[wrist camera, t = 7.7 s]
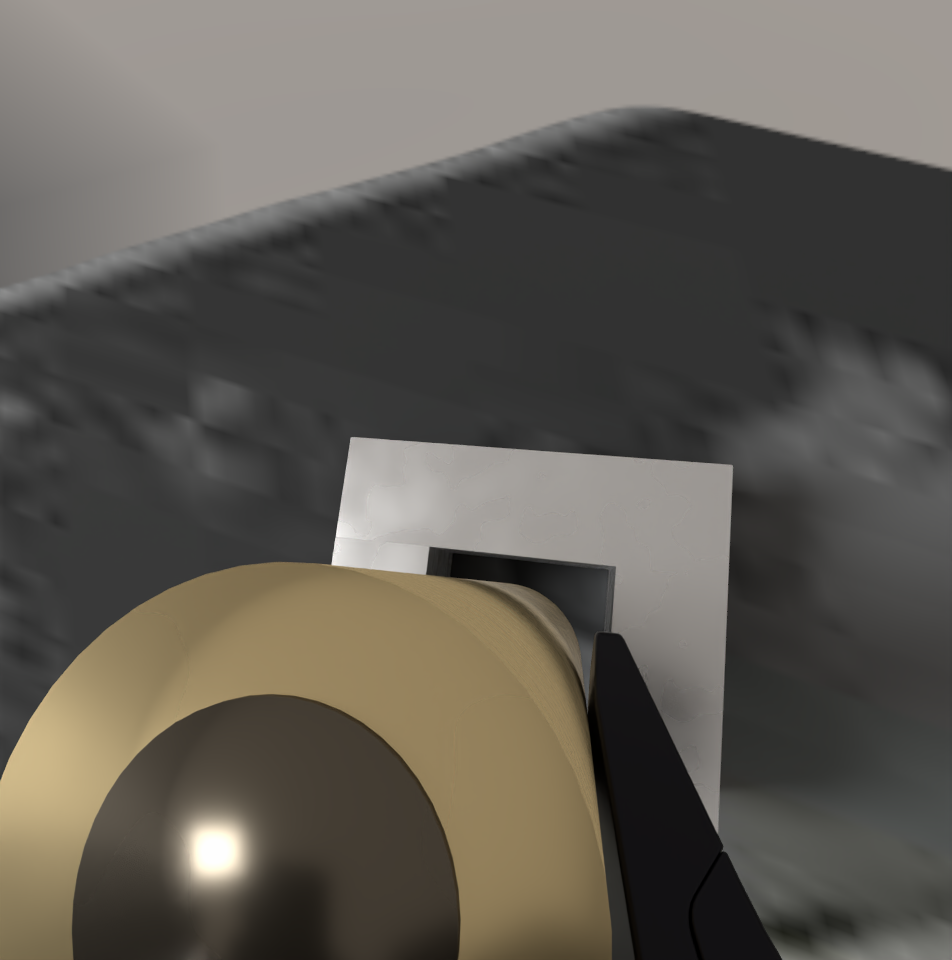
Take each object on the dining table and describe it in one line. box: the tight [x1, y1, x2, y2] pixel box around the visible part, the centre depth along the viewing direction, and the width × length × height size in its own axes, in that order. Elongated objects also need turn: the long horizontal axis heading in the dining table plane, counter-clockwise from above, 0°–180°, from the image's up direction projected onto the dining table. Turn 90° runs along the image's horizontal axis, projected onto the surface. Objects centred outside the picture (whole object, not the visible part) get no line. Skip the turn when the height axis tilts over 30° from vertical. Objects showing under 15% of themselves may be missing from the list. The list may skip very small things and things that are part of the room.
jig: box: [332, 437, 733, 834], centre depth 21 cm, size 11×13×4 cm
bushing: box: [0, 562, 612, 960], centre depth 10 cm, size 4×4×13 cm
